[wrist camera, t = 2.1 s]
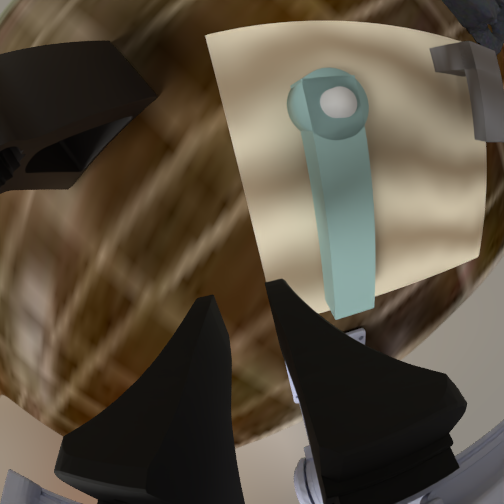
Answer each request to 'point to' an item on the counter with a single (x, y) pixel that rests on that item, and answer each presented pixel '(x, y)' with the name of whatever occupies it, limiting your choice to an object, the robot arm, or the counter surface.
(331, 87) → the link
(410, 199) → the keeper board
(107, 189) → the counter surface
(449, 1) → the dark grey cloth
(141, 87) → the phone stand
